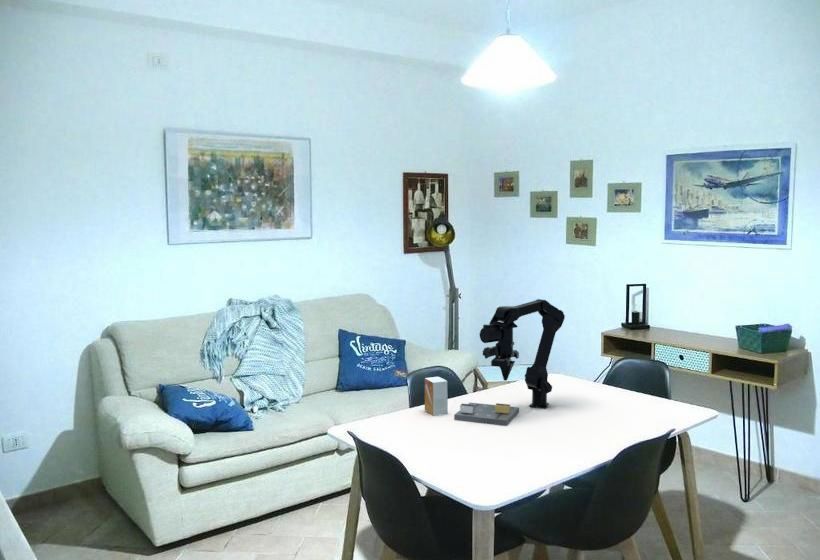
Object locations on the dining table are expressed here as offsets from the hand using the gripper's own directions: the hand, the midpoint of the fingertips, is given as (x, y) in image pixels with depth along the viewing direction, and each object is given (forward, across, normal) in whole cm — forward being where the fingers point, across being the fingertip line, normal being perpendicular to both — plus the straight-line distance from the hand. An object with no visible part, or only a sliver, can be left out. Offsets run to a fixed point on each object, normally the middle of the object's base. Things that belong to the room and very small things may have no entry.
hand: (505, 380), depth 276 cm
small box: (+13, +8, -26) cm, 30 cm away
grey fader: (+10, +11, -11) cm, 19 cm away
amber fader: (+10, +7, +1) cm, 12 cm away
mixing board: (+13, +6, -5) cm, 15 cm away
